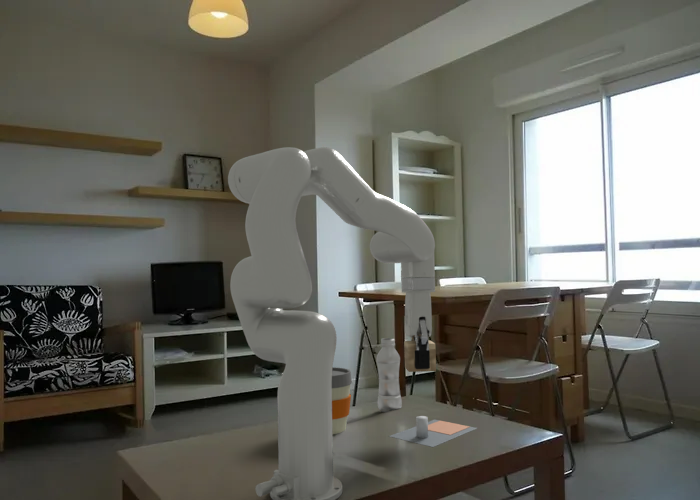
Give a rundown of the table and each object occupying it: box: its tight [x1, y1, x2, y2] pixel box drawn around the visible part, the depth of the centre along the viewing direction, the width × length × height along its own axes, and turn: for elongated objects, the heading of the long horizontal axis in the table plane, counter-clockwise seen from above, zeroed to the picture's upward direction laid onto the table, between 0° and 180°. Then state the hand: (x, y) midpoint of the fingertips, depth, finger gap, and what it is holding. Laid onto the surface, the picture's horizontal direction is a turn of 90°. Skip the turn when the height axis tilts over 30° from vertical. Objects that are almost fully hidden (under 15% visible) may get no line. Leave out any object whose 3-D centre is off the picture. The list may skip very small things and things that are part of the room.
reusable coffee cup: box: [332, 366, 353, 435], centre depth 129 cm, size 12×13×15 cm
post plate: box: [388, 415, 478, 448], centre depth 125 cm, size 18×12×6 cm, turn 136°
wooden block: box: [403, 339, 437, 373], centre depth 122 cm, size 6×6×6 cm
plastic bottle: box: [376, 337, 403, 413], centre depth 149 cm, size 6×7×20 cm
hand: (420, 365), depth 122 cm, fingers closed on wooden block, 6 cm apart
